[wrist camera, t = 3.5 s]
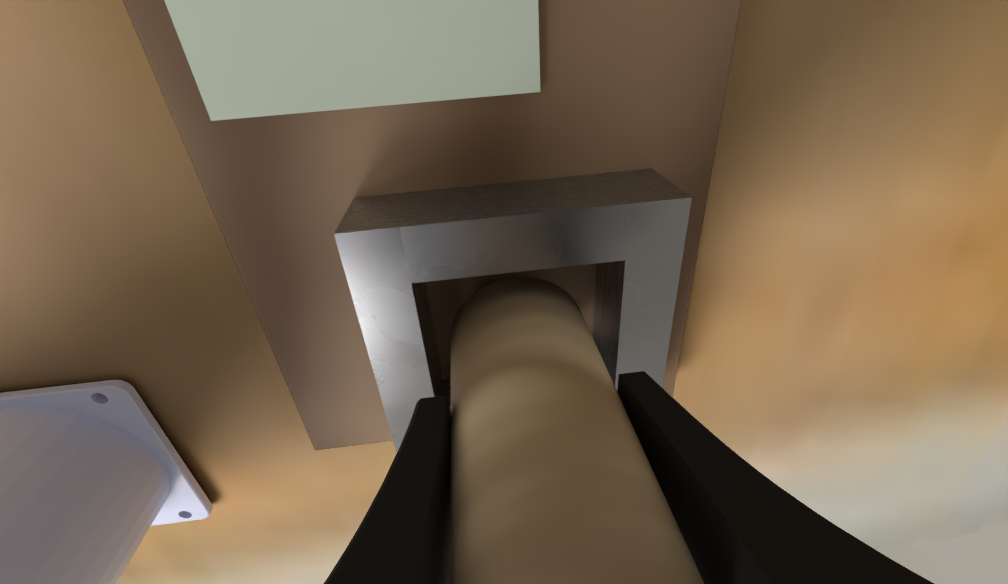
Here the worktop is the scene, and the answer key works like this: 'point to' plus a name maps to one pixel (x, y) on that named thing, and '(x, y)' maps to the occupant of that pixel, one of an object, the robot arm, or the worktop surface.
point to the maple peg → (548, 453)
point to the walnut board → (446, 175)
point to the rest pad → (354, 52)
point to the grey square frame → (513, 266)
